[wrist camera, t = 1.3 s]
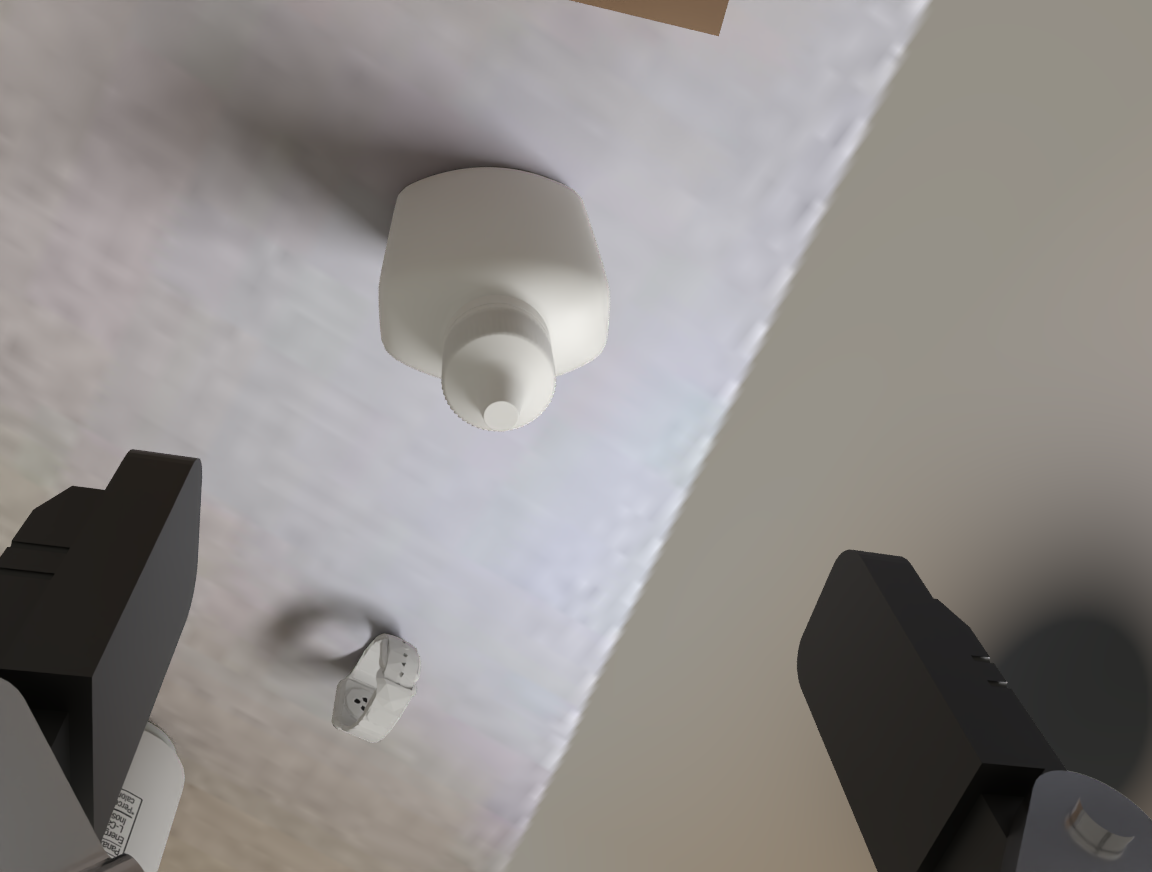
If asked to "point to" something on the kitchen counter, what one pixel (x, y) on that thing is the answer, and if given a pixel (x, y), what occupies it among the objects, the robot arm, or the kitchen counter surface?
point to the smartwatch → (377, 689)
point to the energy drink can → (146, 801)
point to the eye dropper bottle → (493, 290)
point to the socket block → (672, 12)
